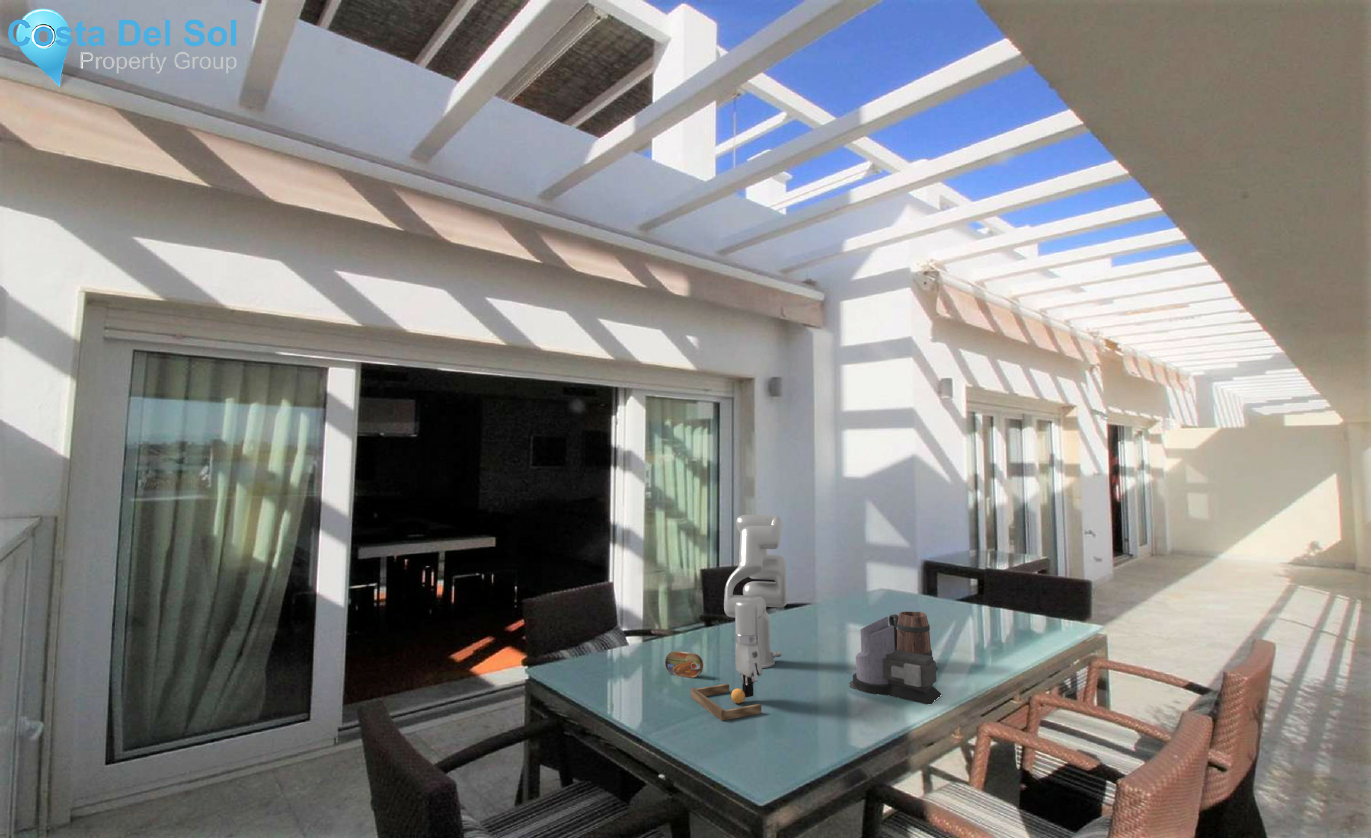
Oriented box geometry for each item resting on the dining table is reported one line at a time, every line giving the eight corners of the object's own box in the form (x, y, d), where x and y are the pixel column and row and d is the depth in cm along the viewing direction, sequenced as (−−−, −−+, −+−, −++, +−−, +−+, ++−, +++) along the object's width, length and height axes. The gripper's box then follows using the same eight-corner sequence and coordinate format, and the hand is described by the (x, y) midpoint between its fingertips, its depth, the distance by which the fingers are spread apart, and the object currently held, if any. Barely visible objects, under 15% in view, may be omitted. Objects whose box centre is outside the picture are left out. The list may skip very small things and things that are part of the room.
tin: (664, 673, 232) (664, 650, 233) (668, 671, 235) (668, 648, 236) (700, 679, 225) (700, 655, 226) (704, 677, 228) (704, 653, 229)
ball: (737, 684, 205) (726, 691, 203) (745, 688, 201) (734, 695, 199) (741, 696, 205) (730, 703, 203) (749, 700, 201) (738, 708, 199)
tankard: (948, 669, 234) (945, 615, 236) (914, 676, 227) (912, 620, 229) (902, 653, 255) (900, 604, 257) (870, 659, 248) (868, 608, 250)
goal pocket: (727, 691, 213) (727, 682, 213) (761, 713, 193) (761, 703, 193) (691, 697, 207) (690, 688, 208) (721, 720, 187) (721, 710, 188)
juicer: (841, 687, 216) (839, 615, 219) (861, 675, 228) (859, 607, 231) (928, 707, 197) (925, 628, 199) (945, 693, 209) (941, 619, 211)
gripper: (768, 642, 200) (769, 701, 199) (745, 632, 214) (746, 687, 212) (748, 645, 197) (749, 705, 195) (726, 634, 211) (727, 690, 209)
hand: (748, 695), depth 204 cm, fingers closed
